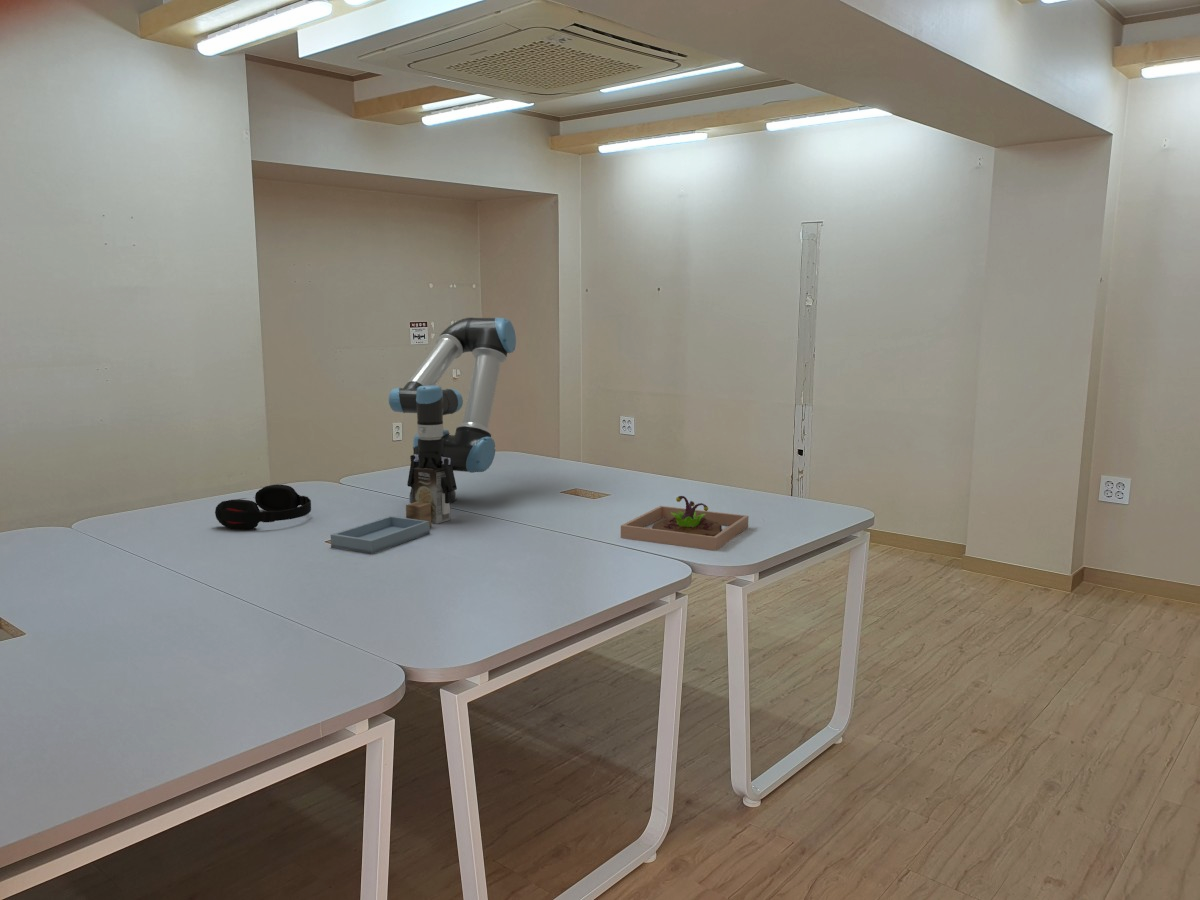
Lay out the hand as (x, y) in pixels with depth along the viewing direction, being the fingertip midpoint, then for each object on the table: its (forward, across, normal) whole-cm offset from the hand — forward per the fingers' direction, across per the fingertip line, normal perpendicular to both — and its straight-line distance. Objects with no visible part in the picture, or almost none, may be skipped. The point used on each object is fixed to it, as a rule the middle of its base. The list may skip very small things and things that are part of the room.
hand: (432, 511), depth 262 cm
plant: (+3, +73, +22) cm, 77 cm away
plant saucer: (+3, +73, +22) cm, 76 cm away
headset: (+3, -46, -23) cm, 51 cm away
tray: (+3, +2, -25) cm, 25 cm away
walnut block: (+3, +2, -9) cm, 10 cm away
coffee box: (+3, 0, 0) cm, 3 cm away
